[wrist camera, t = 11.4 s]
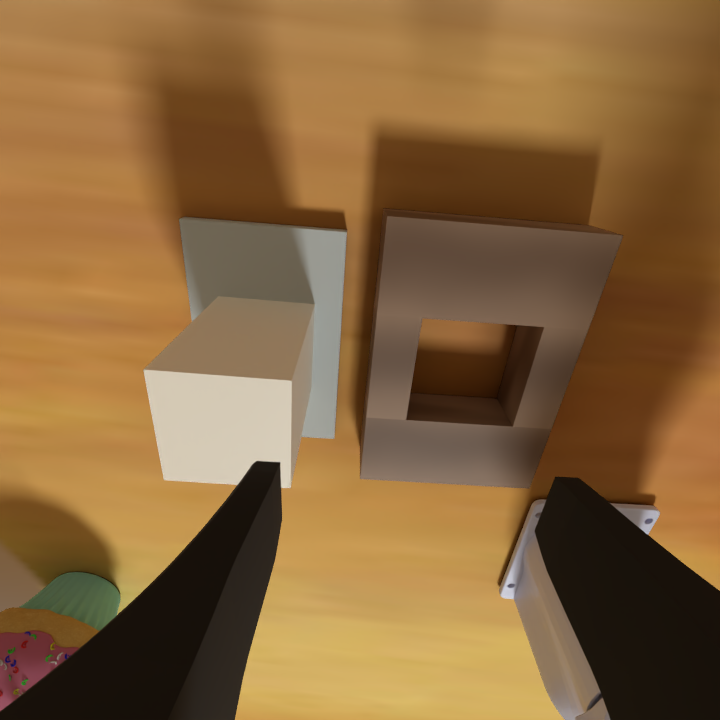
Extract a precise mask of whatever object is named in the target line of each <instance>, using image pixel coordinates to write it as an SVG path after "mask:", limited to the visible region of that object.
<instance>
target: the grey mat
mask: <svg viewBox="0 0 720 720" xmlns="http://www.w3.org/2000/svg"><path fill="white" fill-rule="evenodd" d="M179 223H180V231H181V239H182V247H183V255H184V263H185V271H186V279H187V287H188V294H189V302H190V310H191V318H192V321H193V320H194V319H195V318H196V317H197V316H199V315H200V314H201V313H202V312H203V311H204V310H205V309H206V308H207V307H208V306H209V305H210V304H211V303H212V302H213V301H214V300H215V299H216V298H217V297H218V296H223V297H235V298H247V299H259V300H271V301H283V302H295V303H307V304H315V314H314V340H313V367H312V387H311V392H310V397H309V402H308V407H307V411H306V416H305V421H304V426H303V431H302V436H301V437H313V438H330V439H334V435H335V420H336V404H337V387H338V371H339V354H340V337H341V321H342V304H343V287H344V271H345V254H346V238H347V230H342V229H330V228H318V227H305V226H293V225H280V224H268V223H255V222H243V221H231V220H218V219H206V218H193V217H183V218H180V219H179Z"/></svg>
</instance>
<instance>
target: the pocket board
mask: <svg viewBox="0 0 720 720" xmlns="http://www.w3.org/2000/svg"><path fill="white" fill-rule="evenodd" d="M622 238H623V235H620V234H617V233H613V232H610V231H606V230H603V229H600V228H596V227H593V226H589V225H578V224H566V223H554V222H542V221H530V220H518V219H506V218H494V217H482V216H469V215H457V214H445V213H433V212H421V211H409V210H397V209H385V208H383V218H382V229H381V239H380V249H379V259H378V269H377V279H376V289H375V300H374V310H373V320H372V330H371V340H370V350H369V360H368V371H367V381H366V391H365V401H364V411H363V421H362V431H361V442H360V479H370V480H388V481H405V482H423V483H441V484H458V485H476V486H494V487H511V488H530V486H531V483H532V480H533V478H534V475H535V472H536V469H537V467H538V464H539V461H540V459H541V456H542V453H543V451H544V448H545V445H546V443H547V440H548V437H549V434H550V432H551V429H552V426H553V424H554V421H555V418H556V416H557V413H558V410H559V407H560V405H561V402H562V399H563V397H564V394H565V391H566V389H567V386H568V383H569V381H570V378H571V375H572V372H573V370H574V367H575V364H576V362H577V359H578V356H579V354H580V351H581V348H582V346H583V343H584V340H585V337H586V335H587V332H588V329H589V327H590V324H591V321H592V319H593V316H594V313H595V311H596V308H597V305H598V302H599V300H600V297H601V294H602V292H603V289H604V286H605V284H606V281H607V278H608V275H609V273H610V270H611V267H612V265H613V262H614V259H615V257H616V254H617V251H618V249H619V246H620V243H621V240H622ZM422 318H426V319H440V320H453V321H467V322H481V323H495V324H509V325H517V328H516V332H515V335H514V339H513V343H512V346H511V350H510V353H509V357H508V360H507V364H506V367H505V371H504V375H503V378H502V382H501V385H500V389H499V392H498V396H497V399H496V398H481V397H466V396H450V395H435V394H420V393H410V392H411V386H412V379H413V373H414V367H415V361H416V354H417V348H418V342H419V336H420V330H421V323H422Z"/></svg>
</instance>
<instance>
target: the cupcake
mask: <svg viewBox="0 0 720 720" xmlns="http://www.w3.org/2000/svg"><path fill="white" fill-rule="evenodd" d="M119 604H120V594H119V592H118V590H117V588H116V587H115V586H114V585H113V584H112V583H110V582H109V581H107V580H106V579H104V578H102V577H99V576H97V575H94V574H90V573H84V572H70V573H65V574H62V575H60V576H58V577H57V578H55V579H54V580H53V581H52V582H51V583H50V584H49V585H47V586H46V587H45V588H44V589H43V590H41V591H40V592H39V593H38V594H37V595H35V596H34V597H33V598H32V599H30V600H29V601H28V602H26V603H25V604H24V605H22V606H20V607H19V608H9V609H5V610H4V611H2V612H0V711H1V710H2V709H4V708H5V707H6V706H8V705H9V704H10V703H12V702H13V701H14V700H16V699H17V698H18V697H19V696H21V695H22V694H23V693H24V692H26V691H27V690H28V689H29V688H31V687H32V686H33V685H34V684H36V683H37V682H38V681H39V680H41V679H42V678H43V677H44V676H46V675H47V674H48V673H49V672H51V671H52V670H53V669H54V668H56V667H57V666H58V665H59V664H61V663H62V662H63V661H64V660H66V659H67V658H68V657H69V656H71V655H72V654H73V653H74V652H76V651H77V650H78V649H79V648H80V647H82V646H83V645H84V644H85V643H86V642H87V641H89V640H90V639H91V638H92V637H93V636H94V635H96V634H97V633H98V632H99V631H100V630H101V629H102V628H103V627H105V626H106V625H107V624H108V623H109V622H110V621H111V620H112V619H113V618H115V617H116V616H117V611H118V607H119Z"/></svg>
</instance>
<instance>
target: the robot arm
mask: <svg viewBox="0 0 720 720" xmlns="http://www.w3.org/2000/svg"><path fill="white" fill-rule="evenodd" d="M659 515H660V512H659V510H658V509H657V508H656V507H655V506H652V505H634V504H616V503H609V502H608V501H607V500H605V499H604V498H603V497H602V496H600V495H599V494H598V493H597V492H596V491H594V490H593V489H592V488H591V487H589V486H588V485H587V484H586V483H584V482H583V481H582V480H580V479H579V478H570V477H555V479H554V482H553V484H552V487H551V489H550V492H549V495H548V497H547V500H544V499H539V500H536V501H534V502H533V503H532V505H531V508H530V510H529V513H528V515H527V518H526V521H525V523H524V526H523V528H522V531H521V534H520V536H519V539H518V541H517V544H516V547H515V549H514V552H513V554H512V557H511V560H510V562H509V565H508V567H507V570H506V573H505V575H504V578H503V580H502V583H501V586H500V588H499V593H500V596H501V597H503V598H508V599H514V600H515V603H516V606H517V609H518V612H519V615H520V618H521V620H522V623H523V626H524V629H525V632H526V635H527V637H528V640H529V643H530V646H531V649H532V652H533V655H534V657H535V660H536V663H537V666H538V669H539V672H540V675H541V677H542V680H543V683H544V686H545V688H546V691H547V693H548V695H549V697H550V699H551V701H552V703H553V704H554V706H555V707H556V709H557V710H558V712H559V713H560V714H561V715H562V717H563V718H564V719H565V720H720V591H719V590H718V589H716V588H715V587H714V586H712V585H711V584H710V583H708V582H707V581H706V580H704V579H703V578H702V577H700V576H699V575H698V574H696V573H695V572H694V571H693V570H691V569H690V568H689V567H687V566H686V565H685V564H683V563H682V562H681V561H680V560H678V559H677V558H676V557H675V556H673V555H672V554H671V553H670V552H668V551H667V550H666V549H665V548H663V547H662V546H661V545H660V544H658V543H657V542H656V541H655V540H653V539H652V538H651V537H650V536H649V535H648V534H649V532H650V530H651V529H652V527H653V525H654V524H655V522H656V520H657V519H658V517H659ZM281 522H282V503H281V470H280V462H268V461H256V462H254V463H253V464H252V465H251V467H250V468H249V470H248V471H247V473H246V474H245V475H244V477H243V478H242V480H241V481H240V482H239V484H238V485H237V486H236V488H235V489H234V490H233V492H232V493H231V494H230V496H229V497H228V498H227V499H226V501H225V502H224V503H223V504H222V506H221V507H220V508H219V509H218V511H217V512H216V513H215V514H214V515H213V517H212V518H211V519H210V520H209V521H208V523H207V524H206V525H205V526H204V527H203V529H202V530H201V531H200V532H199V533H198V534H197V535H196V537H195V538H194V539H193V540H192V541H191V542H190V543H189V544H188V545H187V546H186V547H185V549H184V550H183V551H182V552H181V553H180V554H179V555H178V556H177V557H176V558H175V560H174V561H173V562H172V563H171V564H170V565H169V566H168V567H167V568H166V569H165V570H164V571H163V572H162V573H161V574H160V575H159V576H158V577H157V578H156V579H155V580H154V581H153V582H152V583H151V584H150V585H149V586H148V587H147V588H146V589H145V590H144V591H143V592H142V593H141V594H140V595H139V596H138V597H136V598H135V599H134V600H133V601H132V602H131V603H130V604H129V605H128V606H127V607H126V608H125V609H123V610H122V611H121V612H120V613H119V614H118V615H117V616H116V617H115V618H113V619H112V620H111V621H110V622H109V623H108V624H107V625H106V626H105V627H103V628H102V629H101V630H100V631H99V632H98V633H97V634H96V635H94V636H93V637H92V638H91V639H90V640H89V641H87V642H86V643H85V644H84V645H83V646H82V647H80V648H79V649H78V650H77V651H76V652H74V653H73V654H72V655H71V656H69V657H68V658H67V659H66V660H64V661H63V662H62V663H61V664H59V665H58V666H57V667H56V668H54V669H53V670H52V671H51V672H49V673H48V674H47V675H46V676H44V677H43V678H42V679H41V680H39V681H38V682H37V683H36V684H34V685H33V686H32V687H31V688H29V689H28V690H27V691H26V692H24V693H23V694H22V695H21V696H19V697H18V698H17V699H16V700H14V701H13V702H12V703H10V704H9V705H8V706H6V707H5V708H4V709H2V710H1V711H0V720H235V715H236V710H237V705H238V700H239V695H240V690H241V685H242V680H243V675H244V671H245V667H246V663H247V659H248V655H249V651H250V647H251V644H252V640H253V637H254V633H255V630H256V626H257V622H258V619H259V615H260V612H261V608H262V605H263V601H264V597H265V594H266V590H267V587H268V583H269V579H270V576H271V572H272V568H273V565H274V561H275V557H276V551H277V545H278V540H279V534H280V528H281Z"/></svg>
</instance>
